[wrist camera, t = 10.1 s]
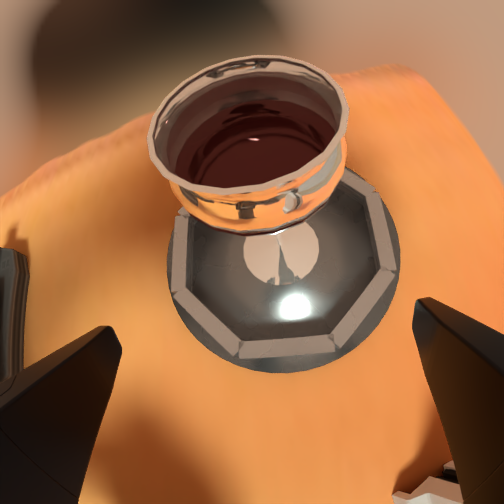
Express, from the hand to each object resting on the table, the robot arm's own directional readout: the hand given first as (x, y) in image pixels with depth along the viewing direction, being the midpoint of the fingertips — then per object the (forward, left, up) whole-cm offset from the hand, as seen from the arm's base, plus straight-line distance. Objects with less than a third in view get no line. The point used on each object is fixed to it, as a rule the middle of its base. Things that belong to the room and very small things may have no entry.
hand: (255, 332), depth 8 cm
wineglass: (+4, -5, -10) cm, 12 cm away
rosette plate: (+5, -5, -11) cm, 13 cm away
